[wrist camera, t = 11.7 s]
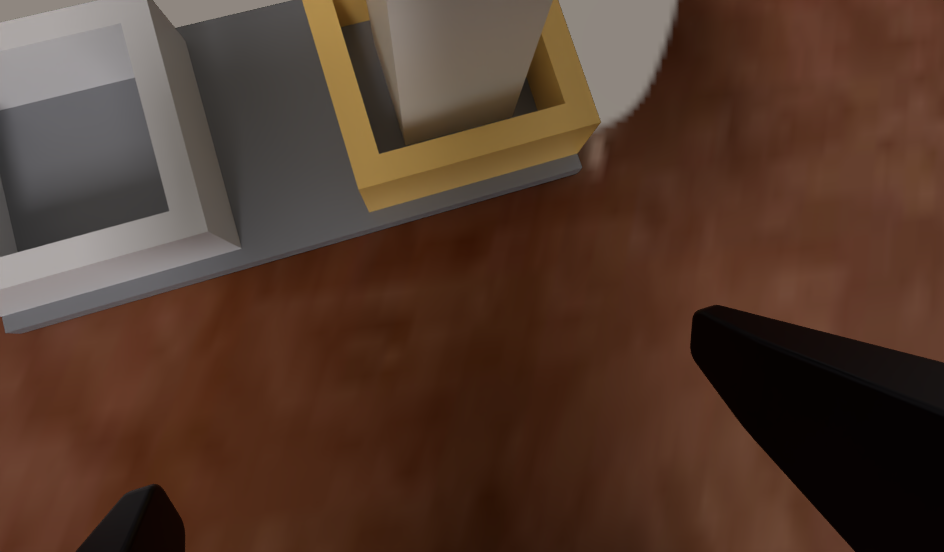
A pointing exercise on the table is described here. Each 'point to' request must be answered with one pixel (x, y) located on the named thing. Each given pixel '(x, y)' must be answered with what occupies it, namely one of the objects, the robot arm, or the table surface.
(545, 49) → the socket board
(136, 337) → the table surface
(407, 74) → the white plug
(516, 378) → the table surface
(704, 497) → the table surface
